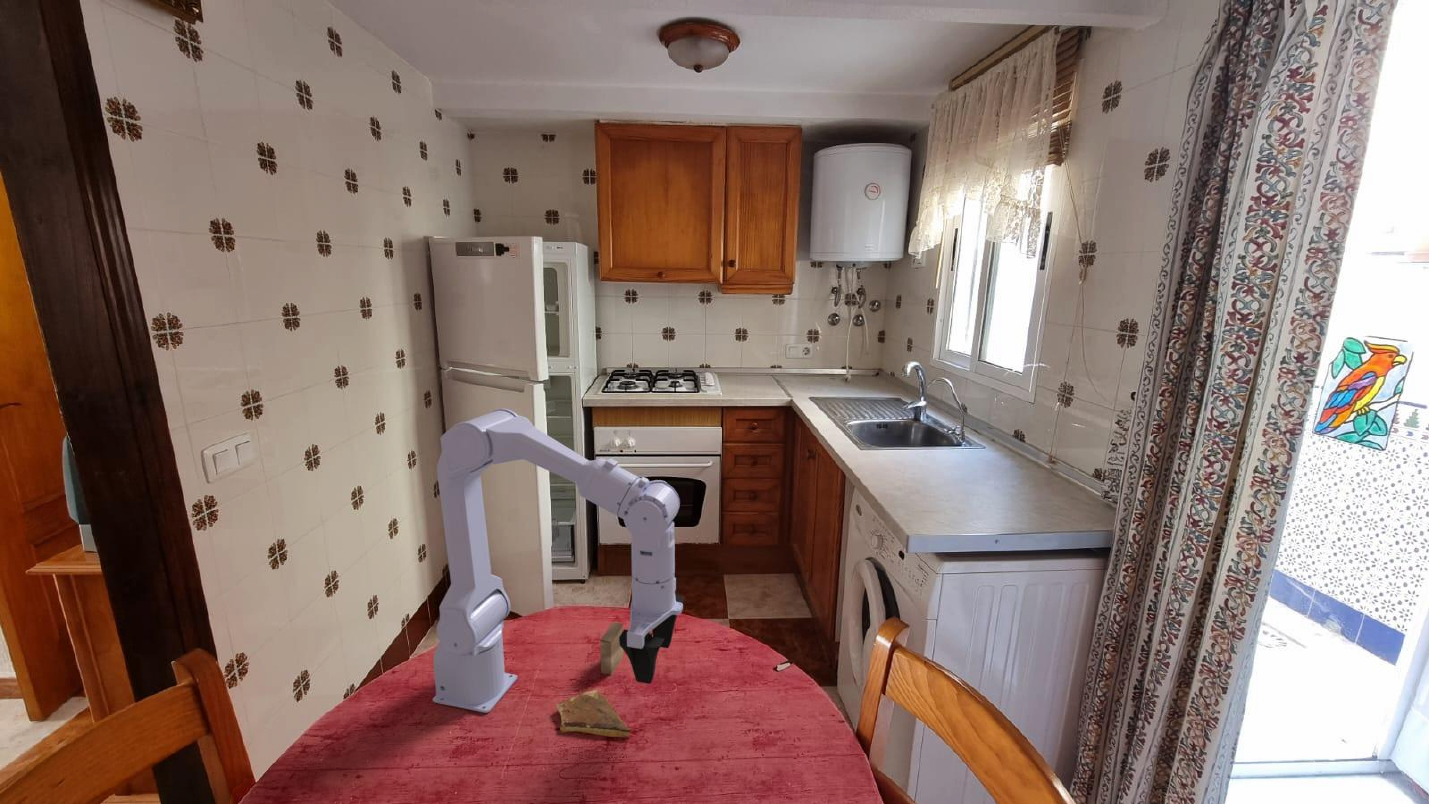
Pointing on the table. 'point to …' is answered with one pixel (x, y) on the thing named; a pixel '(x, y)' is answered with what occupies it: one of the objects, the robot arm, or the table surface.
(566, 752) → the table surface
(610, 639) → the oak slab
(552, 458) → the robot arm
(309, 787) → the table surface
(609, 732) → the shard
